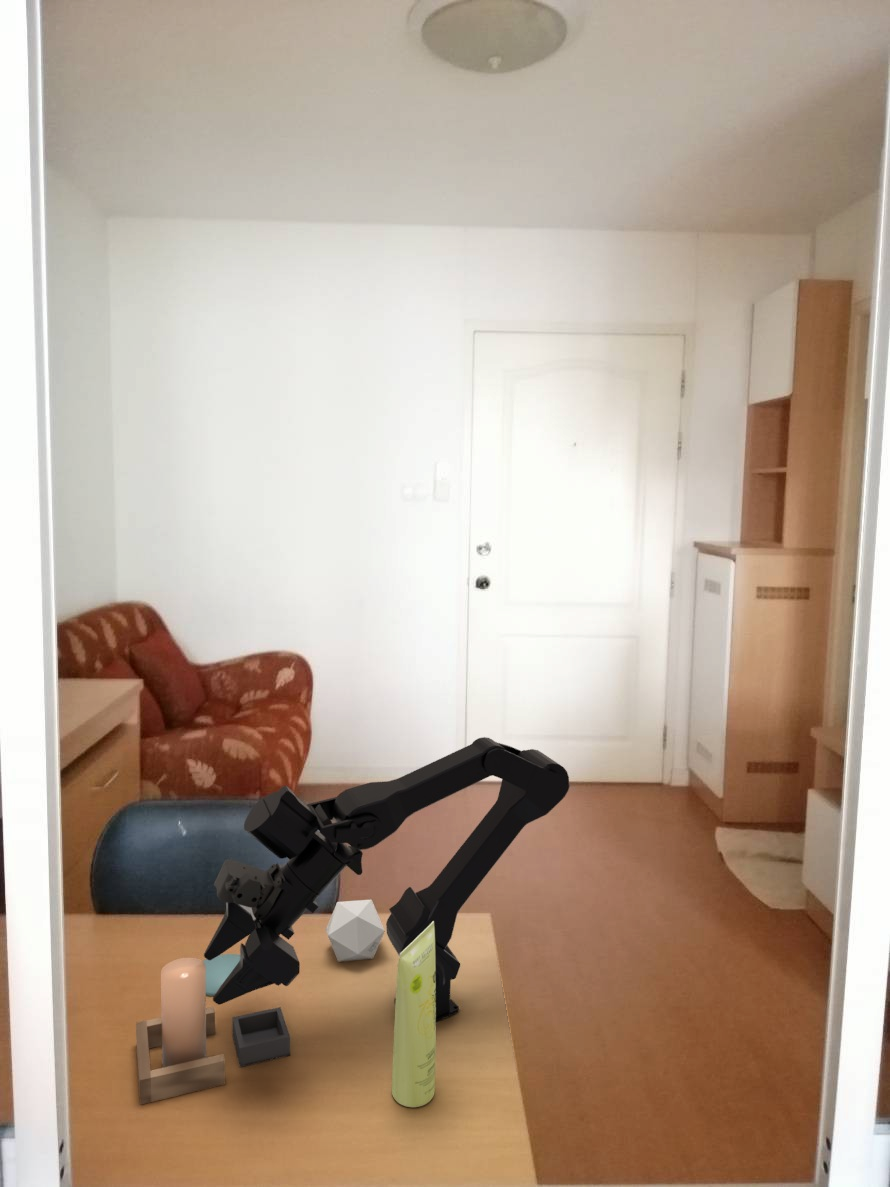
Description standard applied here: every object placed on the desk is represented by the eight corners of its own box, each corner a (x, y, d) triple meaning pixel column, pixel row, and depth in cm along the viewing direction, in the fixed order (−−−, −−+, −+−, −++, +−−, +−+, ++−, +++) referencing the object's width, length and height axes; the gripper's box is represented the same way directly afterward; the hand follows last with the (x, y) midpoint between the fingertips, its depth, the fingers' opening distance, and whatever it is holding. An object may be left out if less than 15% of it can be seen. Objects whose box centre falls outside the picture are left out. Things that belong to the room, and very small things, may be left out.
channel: (213, 1028, 106) (213, 1006, 105) (224, 1084, 96) (224, 1060, 96) (136, 1044, 102) (136, 1022, 102) (140, 1104, 93) (139, 1080, 92)
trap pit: (280, 1024, 107) (280, 1006, 106) (290, 1055, 101) (290, 1036, 101) (232, 1035, 104) (232, 1017, 104) (239, 1067, 99) (239, 1048, 99)
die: (366, 982, 117) (400, 918, 120) (313, 952, 117) (348, 888, 119) (361, 969, 125) (392, 909, 128) (311, 941, 124) (344, 881, 127)
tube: (440, 1109, 93) (445, 947, 90) (395, 1116, 92) (399, 952, 89) (429, 1074, 99) (434, 920, 96) (387, 1080, 98) (390, 924, 95)
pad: (267, 982, 115) (267, 978, 115) (203, 1004, 110) (202, 1000, 110) (242, 951, 123) (242, 947, 123) (181, 970, 118) (181, 966, 117)
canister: (212, 1067, 99) (211, 973, 97) (170, 1083, 96) (168, 987, 94) (198, 1043, 103) (197, 953, 101) (157, 1058, 100) (155, 965, 98)
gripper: (244, 809, 107) (154, 903, 105) (271, 875, 90) (165, 990, 88) (304, 858, 111) (219, 950, 109) (340, 930, 94) (241, 1041, 92)
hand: (210, 979), depth 99 cm, fingers open, 9 cm apart
